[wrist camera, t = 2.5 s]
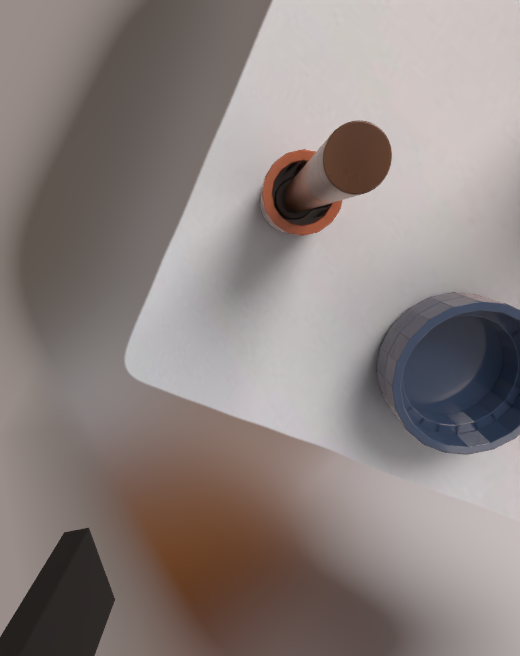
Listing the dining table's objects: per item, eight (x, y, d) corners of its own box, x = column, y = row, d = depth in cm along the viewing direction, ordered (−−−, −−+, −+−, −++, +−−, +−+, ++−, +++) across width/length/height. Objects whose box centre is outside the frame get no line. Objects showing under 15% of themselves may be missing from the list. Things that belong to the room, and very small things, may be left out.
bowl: (385, 438, 44) (404, 467, 39) (365, 309, 41) (382, 321, 35) (520, 411, 44) (558, 436, 38) (511, 277, 40) (551, 285, 35)
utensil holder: (267, 238, 39) (271, 242, 30) (254, 175, 37) (254, 160, 29) (327, 225, 39) (349, 225, 30) (316, 161, 37) (335, 141, 28)
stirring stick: (277, 223, 38) (318, 218, 15) (270, 185, 37) (300, 116, 14) (313, 215, 38) (412, 197, 14) (306, 177, 37) (399, 93, 14)
